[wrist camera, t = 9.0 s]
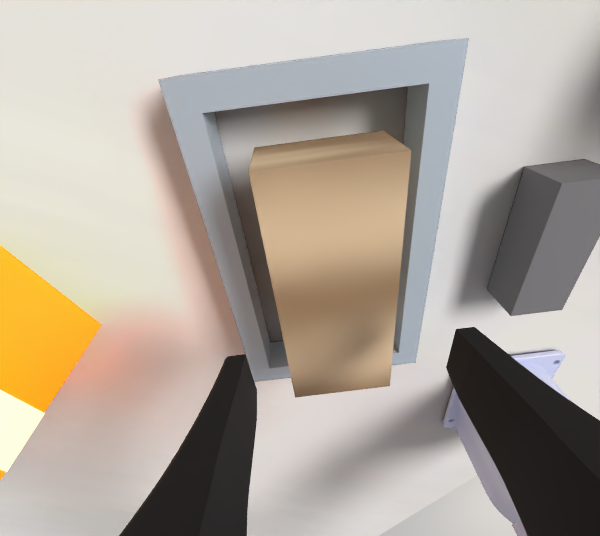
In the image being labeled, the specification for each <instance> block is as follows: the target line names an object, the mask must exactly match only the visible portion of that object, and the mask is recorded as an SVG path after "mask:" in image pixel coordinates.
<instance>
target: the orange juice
mask: <svg viewBox="0 0 600 536" xmlns="http://www.w3.org/2000/svg"><path fill="white" fill-rule="evenodd" d="M100 326H101V324H100V323H99V322H97V321H96V320H95V319H94V318H92V317H91V316H90V315H89V314H87V313H86V312H85V311H83V310H82V309H81V308H80V307H78V306H77V305H76V304H74V303H73V302H72V301H71V300H69V299H68V298H67V297H66V296H64V295H63V294H62V293H60V292H59V291H58V290H57V289H55V288H54V287H53V286H51V285H50V284H49V283H48V282H46V281H45V280H44V279H42V278H41V277H40V276H39V275H37V274H36V273H35V272H34V271H32V270H31V269H30V268H28V267H27V266H26V265H25V264H23V263H22V262H21V261H19V260H18V259H17V258H16V257H14V256H13V255H12V254H11V253H9V252H8V251H7V250H5V249H4V248H3V247H2V246H0V480H1V478H2V477H3V475H4V474H5V472H7V471H8V470H9V468H10V467H11V465H12V464H13V462H14V461H15V459H16V458H17V456H18V454H19V453H20V451H21V450H22V448H23V447H24V445H25V444H26V442H27V441H28V439H29V437H30V436H31V434H32V433H33V431H34V430H35V428H36V427H37V425H38V424H39V422H40V420H41V419H42V417H43V416H44V414H45V413H44V412H45V411H46V409H47V408H48V406H49V405H50V403H51V402H52V400H53V398H54V397H55V395H56V394H57V392H58V391H59V389H60V388H61V386H62V385H63V383H64V382H65V380H66V379H67V377H68V375H69V374H70V372H71V371H72V369H73V368H74V366H75V365H76V363H77V362H78V360H79V359H80V357H81V356H82V354H83V352H84V351H85V349H86V348H87V346H88V345H89V343H90V342H91V340H92V339H93V337H94V336H95V334H96V333H97V331H98V329H99V328H100Z"/></svg>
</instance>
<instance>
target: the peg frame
mask: <svg viewBox="0 0 600 536" xmlns="http://www.w3.org/2000/svg"><path fill="white" fill-rule="evenodd" d="M468 40H469V38H466V39H455V40H443V41H435V42H427V43H420V44H412V45H405V46H397V47H390V48H382V49H375V50H367V51H360V52H352V53H345V54H337V55H330V56H322V57H315V58H307V59H300V60H292V61H285V62H277V63H270V64H262V65H255V66H247V67H240V68H232V69H225V70H217V71H210V72H202V73H195V74H187V75H180V76H174V77H169V78H164V79H159V80H158V81H159V84H160V87H161V90H162V93H163V96H164V100H165V103H166V106H167V109H168V112H169V115H170V118H171V121H172V125H173V128H174V131H175V134H176V137H177V140H178V143H179V147H180V150H181V153H182V156H183V159H184V162H185V165H186V168H187V172H188V175H189V178H190V181H191V184H192V187H193V190H194V193H195V197H196V200H197V203H198V206H199V209H200V212H201V215H202V218H203V222H204V225H205V228H206V231H207V234H208V237H209V240H210V244H211V247H212V250H213V253H214V256H215V259H216V262H217V265H218V269H219V272H220V275H221V278H222V281H223V284H224V287H225V290H226V294H227V297H228V300H229V303H230V306H231V309H232V312H233V316H234V319H235V322H236V325H237V328H238V331H239V334H240V337H241V341H242V344H243V347H244V350H245V353H246V356H247V359H248V362H249V366H250V369H251V372H252V375H253V378H254V381H255V382H258V381H266V380H274V379H283V378H291V374H290V369H289V365H288V360H287V355H286V350H285V345H284V341H278V342H270V340H269V336H268V332H267V327H266V323H265V319H264V315H263V311H262V307H261V303H260V299H259V294H258V290H257V286H256V282H255V278H254V274H253V270H252V266H251V261H250V257H249V253H248V249H247V245H246V241H245V237H244V233H243V228H242V224H241V220H240V216H239V212H238V208H237V204H236V200H235V196H234V191H233V187H232V183H231V179H230V175H229V171H228V167H227V163H226V158H225V154H224V150H223V146H222V142H221V138H220V134H219V130H218V125H217V121H216V117H215V113H214V112H215V111H223V110H230V109H238V108H246V107H253V106H261V105H268V104H276V103H284V102H291V101H299V100H306V99H314V98H322V97H329V96H337V95H344V94H352V93H360V92H367V91H375V90H382V89H390V88H398V87H405V86H408V90H407V103H406V116H405V128H404V141H403V145H405V146H406V147H407V148H409V149H410V150H412V151H411V161H410V172H409V183H408V194H407V204H406V215H405V226H404V237H403V248H402V258H401V269H400V280H399V291H398V301H397V312H396V323H395V334H394V345H393V355H392V365H399V364H407V363H416V356H417V350H418V344H419V338H420V332H421V326H422V320H423V314H424V308H425V302H426V296H427V290H428V284H429V277H430V271H431V265H432V259H433V253H434V247H435V241H436V235H437V229H438V223H439V217H440V211H441V205H442V198H443V192H444V186H445V180H446V174H447V168H448V162H449V156H450V150H451V144H452V138H453V132H454V125H455V119H456V113H457V107H458V101H459V95H460V89H461V83H462V77H463V71H464V65H465V59H466V53H467V46H468Z"/></svg>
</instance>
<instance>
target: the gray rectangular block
mask: <svg viewBox="0 0 600 536" xmlns="http://www.w3.org/2000/svg"><path fill="white" fill-rule="evenodd" d="M599 236H600V164H597V163H594V162H591V161H588V160H585V159H581V160H573V161H565V162H557V163H549V164H541V165H534V166H526V167H524V170H523V173H522V176H521V180H520V183H519V186H518V190H517V193H516V196H515V199H514V203H513V206H512V209H511V212H510V216H509V219H508V222H507V225H506V229H505V232H504V235H503V238H502V242H501V245H500V248H499V252H498V255H497V258H496V261H495V265H494V268H493V271H492V274H491V278H490V281H489V284H488V287H487V290H488V291H489V292H490V293H491V294H492V296H493V297H494V298H495V299H496V300H497V301H498V302H499V303H500V305H501V306H502V307H503V308H504V309H505V310H506V311H507V312H508V313H509V315H510V316H515V315H523V314H531V313H539V312H547V311H556V310H562V309H563V307H564V305H565V303H566V301H567V299H568V297H569V295H570V293H571V291H572V289H573V287H574V285H575V283H576V281H577V279H578V277H579V276H580V274H581V272H582V270H583V268H584V266H585V264H586V262H587V260H588V258H589V256H590V254H591V252H592V250H593V248H594V246H595V244H596V242H597V240H598V238H599Z"/></svg>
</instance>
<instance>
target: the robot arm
mask: <svg viewBox="0 0 600 536" xmlns="http://www.w3.org/2000/svg"><path fill="white" fill-rule="evenodd" d="M564 358H565V354H564V353H563V352H562V351H560V350H555V351H547V352H539V353H530V354H522V355H514V356H510V355H509V354H507V353H506V352H505V351H503V350H502V349H501V348H500V347H499V346H497V345H496V344H495V343H494V342H492V341H491V340H490V339H489V338H487V337H486V336H485V335H484V334H482V333H481V332H480V331H479V330H477V329H476V328H475V327H471V328H462V329H456V332H455V335H454V339H453V343H452V347H451V351H450V355H449V359H448V363H447V367H446V368H447V371H448V373H449V376H450V378H451V381H452V384H453V386H454V387H453V390H452V394H451V397H450V400H449V404H448V407H447V411H446V414H445V417H444V421H443V425H444V427H445V428H447V429H450V428H456V431H457V433H458V435H459V437H460V439H461V441H462V443H463V445H464V447H465V449H466V452H467V454H468V456H469V458H470V460H471V462H472V464H473V466H474V468H475V470H476V473H477V475H478V477H479V478H480V481H481V483H482V485H483V487H484V489H485V491H486V494H487V495H488V497H489V499H490V500H491V502H492V503H493V505H494V506H495V507H496V508H497V510H498V511H499V512H500V513H501V514H502V515H503V516H504V517H506V518H507V519H508V520H509V521H510V522H512V523H513V524H512V526H513V528H514V530H515V532H516V534H517V536H600V421H599V420H598V419H596V418H595V417H593V416H592V415H590V414H589V413H587V412H586V411H584V410H583V409H581V408H580V407H578V406H577V405H576V404H574V403H573V402H571V400H570V399H569V398H568V397H567V396H566V395H565V393H564V392H563V391H562V390H561V389H560V388H559V386H558V385H557V384H556V383H555V382H554V380H553V379H552V378H553V376H554V375H555V373H556V371H557V370H558V368H559V366H560V364H561V363H562V361H563V359H564ZM256 421H257V389H256V386H255V383H254V380H253V377H252V373H251V370H250V367H249V364H248V361H247V358H246V355H236V356H228V357H227V358H226V359H225V361H224V364H223V366H222V368H221V370H220V373H219V375H218V377H217V379H216V381H215V383H214V386H213V388H212V390H211V392H210V394H209V396H208V398H207V400H206V402H205V403H204V405H203V407H202V409H201V411H200V413H199V415H198V417H197V419H196V421H195V422H194V424H193V426H192V428H191V429H190V431H189V433H188V434H187V436H186V438H185V440H184V441H183V443H182V445H181V446H180V448H179V450H178V452H177V453H176V455H175V456H174V458H173V460H172V461H171V463H170V464H169V466H168V467H167V469H166V471H165V472H164V474H163V475H162V477H161V478H160V480H159V481H158V483H157V484H156V486H155V487H154V489H153V490H152V491H151V493H150V494H149V496H148V497H147V498H146V500H145V501H144V503H143V504H142V505H141V507H140V508H139V510H138V511H137V512H136V514H135V515H134V517H133V518H132V519H131V521H130V522H129V523H128V525H127V526H126V527H125V529H124V530H123V531H122V533H121V534H120V535H119V536H247V507H248V494H249V485H250V476H251V467H252V458H253V449H254V440H255V431H256Z"/></svg>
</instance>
